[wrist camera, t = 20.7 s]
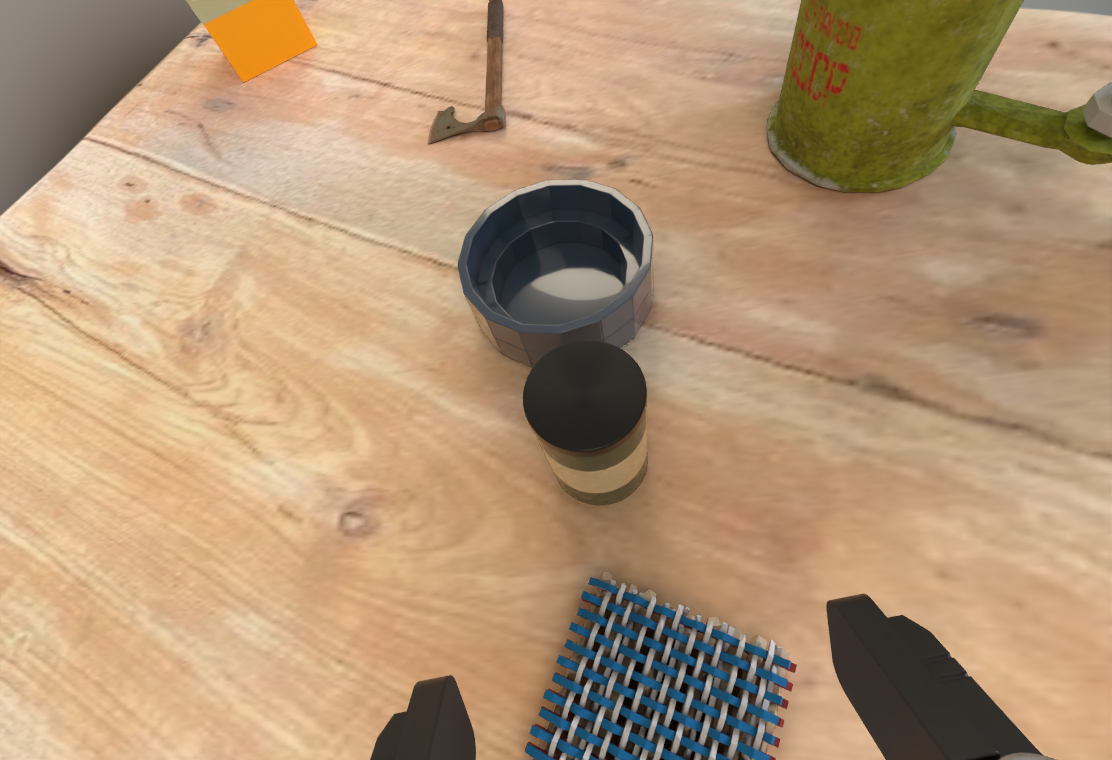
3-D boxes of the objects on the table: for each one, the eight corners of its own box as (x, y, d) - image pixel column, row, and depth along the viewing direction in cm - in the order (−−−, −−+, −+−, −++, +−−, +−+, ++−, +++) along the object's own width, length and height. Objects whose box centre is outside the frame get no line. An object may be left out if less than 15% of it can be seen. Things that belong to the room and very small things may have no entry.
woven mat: (740, 909, 23) (748, 928, 22) (515, 780, 27) (506, 787, 25) (798, 652, 27) (808, 651, 25) (595, 568, 31) (592, 561, 29)
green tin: (581, 401, 35) (560, 323, 28) (664, 439, 33) (668, 366, 26) (535, 478, 33) (499, 418, 26) (621, 524, 31) (610, 473, 24)
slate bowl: (535, 212, 44) (522, 160, 39) (682, 260, 39) (685, 208, 35) (447, 333, 39) (421, 290, 35) (600, 402, 35) (592, 363, 31)
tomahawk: (445, 24, 59) (440, 12, 58) (509, 4, 58) (505, -9, 57) (431, 150, 50) (424, 138, 49) (506, 129, 48) (501, 117, 47)
